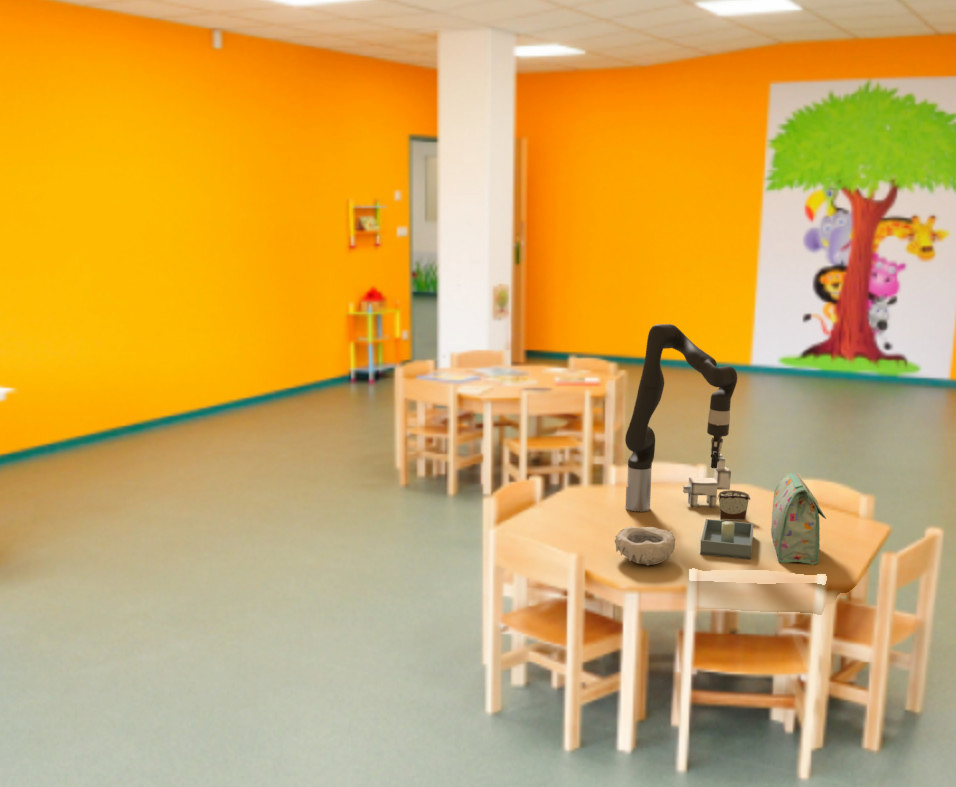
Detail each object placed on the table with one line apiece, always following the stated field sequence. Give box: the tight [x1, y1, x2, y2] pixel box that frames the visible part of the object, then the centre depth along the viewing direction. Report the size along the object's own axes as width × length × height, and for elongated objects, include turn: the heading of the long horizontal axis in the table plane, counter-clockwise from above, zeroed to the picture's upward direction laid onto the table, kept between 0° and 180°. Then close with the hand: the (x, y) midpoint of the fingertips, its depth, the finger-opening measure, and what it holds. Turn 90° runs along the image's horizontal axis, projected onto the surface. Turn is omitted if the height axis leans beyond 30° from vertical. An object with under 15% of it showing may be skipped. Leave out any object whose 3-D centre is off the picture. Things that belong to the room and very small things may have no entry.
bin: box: [699, 518, 754, 560], centre depth 356 cm, size 17×24×5 cm
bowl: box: [614, 526, 676, 567], centre depth 341 cm, size 21×20×10 cm
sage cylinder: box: [721, 520, 735, 543], centre depth 356 cm, size 4×4×7 cm
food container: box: [717, 489, 751, 521], centre depth 386 cm, size 12×6×10 cm, turn 84°
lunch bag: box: [770, 472, 827, 566], centre depth 347 cm, size 23×16×27 cm
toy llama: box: [682, 453, 732, 508], centre depth 400 cm, size 8×18×20 cm, turn 88°
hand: (715, 464), depth 363 cm, fingers open, 8 cm apart
